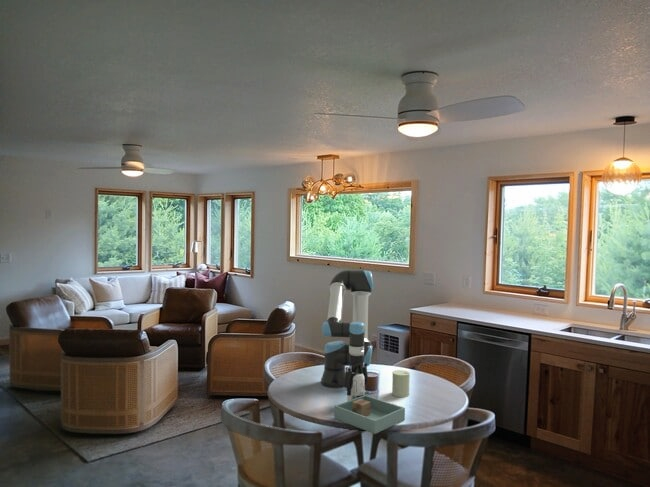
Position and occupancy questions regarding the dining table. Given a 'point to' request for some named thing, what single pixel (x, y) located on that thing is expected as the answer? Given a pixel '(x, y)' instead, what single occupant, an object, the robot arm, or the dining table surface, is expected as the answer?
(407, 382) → the can
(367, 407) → the walnut cube
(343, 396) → the dining table surface
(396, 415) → the tote
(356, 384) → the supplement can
